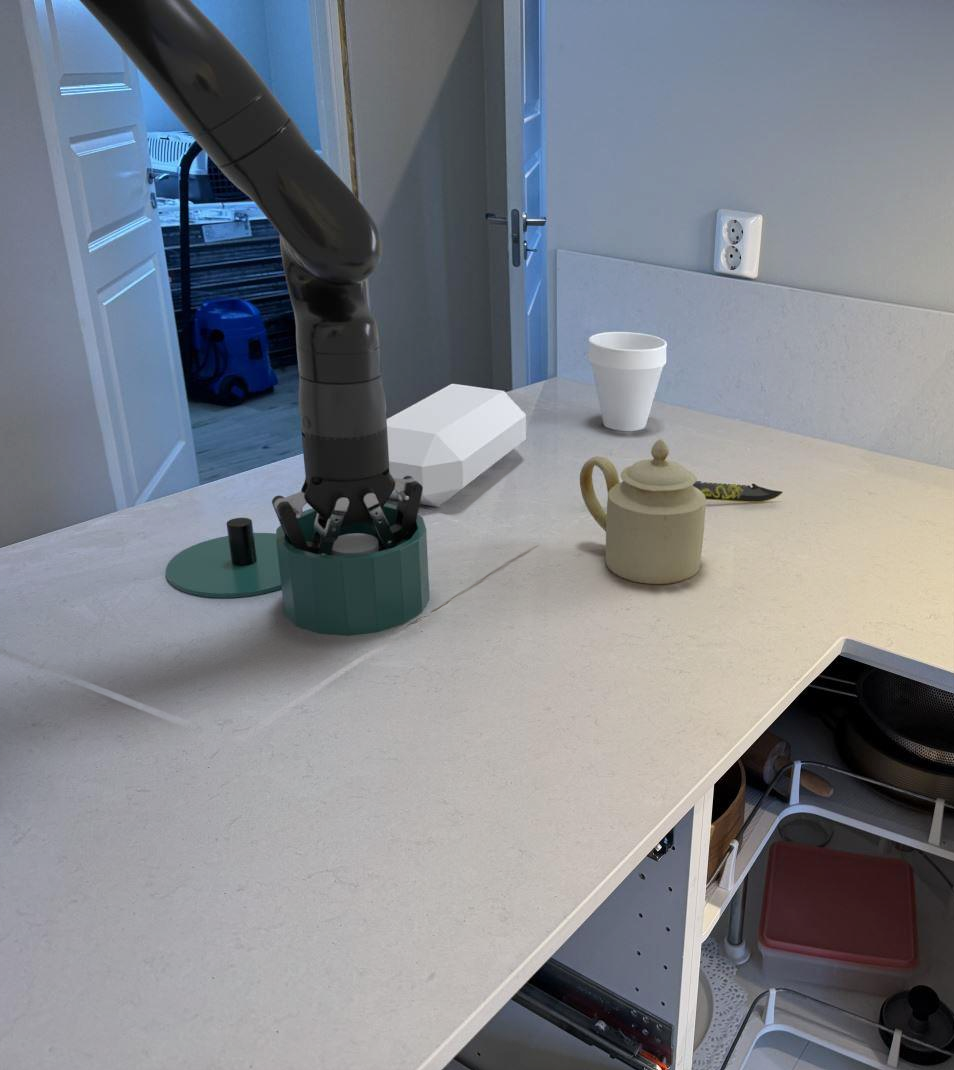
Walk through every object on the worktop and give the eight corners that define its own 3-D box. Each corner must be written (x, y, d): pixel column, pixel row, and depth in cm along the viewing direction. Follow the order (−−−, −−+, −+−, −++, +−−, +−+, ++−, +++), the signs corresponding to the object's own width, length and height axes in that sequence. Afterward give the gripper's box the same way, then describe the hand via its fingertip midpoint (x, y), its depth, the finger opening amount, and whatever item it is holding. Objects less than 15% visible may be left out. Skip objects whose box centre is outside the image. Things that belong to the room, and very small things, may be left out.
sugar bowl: (562, 576, 109) (564, 447, 103) (581, 536, 119) (583, 416, 113) (697, 589, 108) (707, 460, 102) (704, 547, 118) (713, 428, 112)
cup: (631, 442, 152) (635, 354, 146) (570, 424, 157) (571, 338, 152) (677, 424, 161) (683, 341, 156) (618, 408, 167) (621, 327, 161)
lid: (134, 580, 101) (125, 530, 98) (248, 531, 113) (242, 485, 111) (242, 616, 96) (235, 564, 94) (349, 561, 108) (345, 514, 106)
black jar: (323, 605, 98) (317, 545, 95) (356, 586, 102) (351, 529, 99) (360, 616, 97) (355, 556, 94) (392, 597, 100) (388, 539, 98)
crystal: (334, 429, 118) (442, 374, 143) (340, 504, 122) (444, 437, 147) (447, 446, 116) (536, 387, 141) (449, 522, 120) (536, 451, 145)
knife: (775, 514, 136) (783, 480, 134) (779, 519, 134) (787, 484, 132) (609, 505, 128) (615, 468, 126) (612, 509, 126) (617, 473, 125)
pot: (253, 616, 96) (243, 537, 92) (352, 564, 108) (346, 492, 104) (365, 654, 91) (358, 571, 88) (456, 595, 103) (453, 520, 100)
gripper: (404, 402, 98) (412, 557, 105) (251, 419, 90) (270, 585, 97) (434, 424, 93) (440, 585, 100) (274, 443, 85) (292, 618, 92)
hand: (356, 584), depth 98 cm, fingers open, 5 cm apart
